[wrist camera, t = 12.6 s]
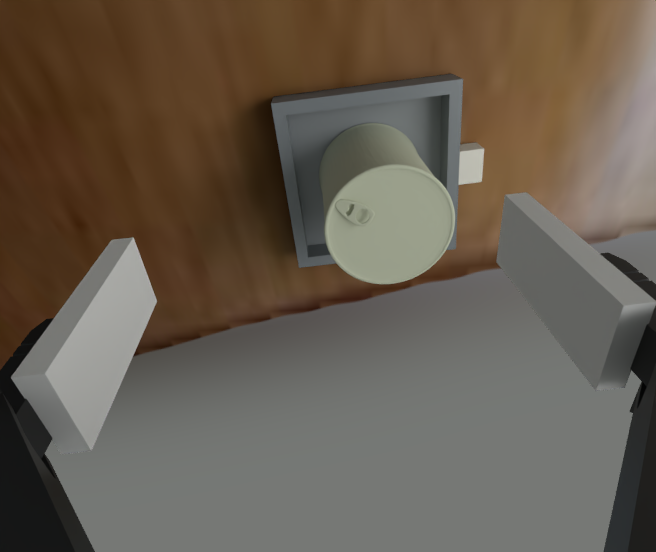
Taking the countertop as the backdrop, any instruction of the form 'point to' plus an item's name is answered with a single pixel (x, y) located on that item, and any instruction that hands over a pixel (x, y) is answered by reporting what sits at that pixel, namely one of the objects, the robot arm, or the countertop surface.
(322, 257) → the drawer
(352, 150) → the can
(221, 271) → the countertop surface
